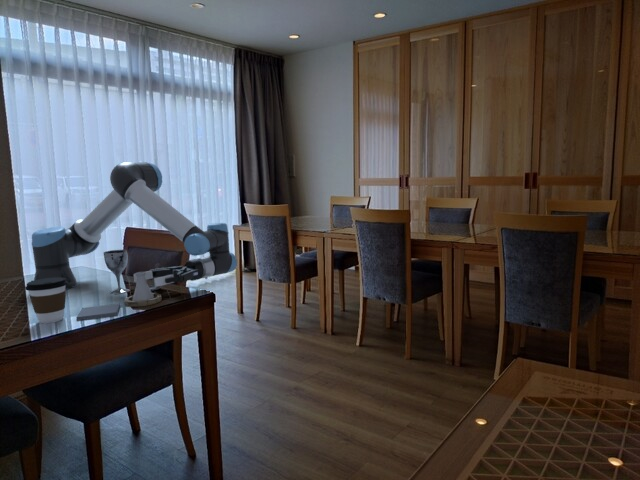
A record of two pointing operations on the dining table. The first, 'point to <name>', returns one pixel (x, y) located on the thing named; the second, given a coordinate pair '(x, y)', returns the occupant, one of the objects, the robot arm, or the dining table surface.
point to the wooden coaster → (131, 303)
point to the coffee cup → (48, 298)
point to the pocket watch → (152, 287)
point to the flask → (142, 288)
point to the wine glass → (116, 266)
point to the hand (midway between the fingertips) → (144, 280)
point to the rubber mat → (98, 311)
